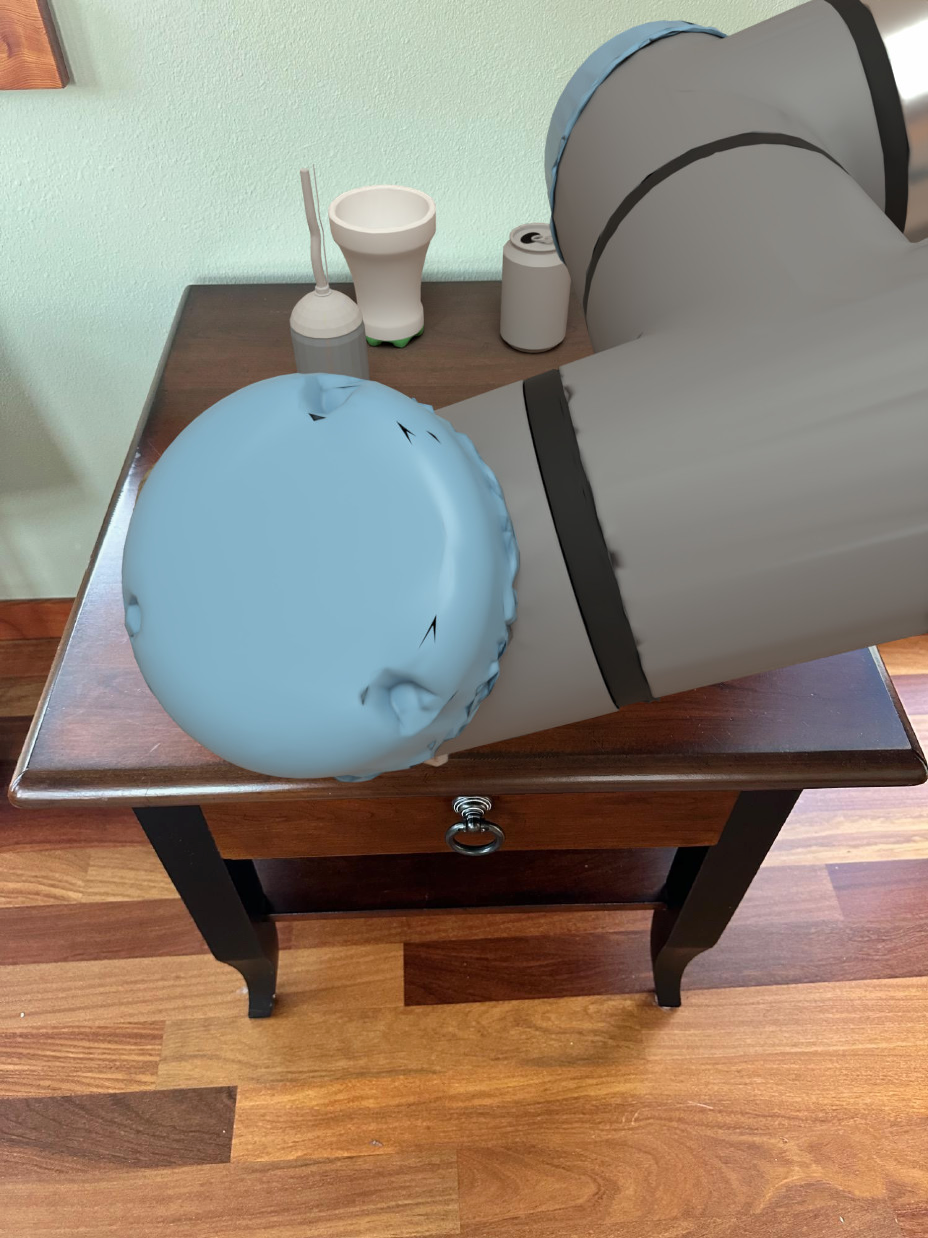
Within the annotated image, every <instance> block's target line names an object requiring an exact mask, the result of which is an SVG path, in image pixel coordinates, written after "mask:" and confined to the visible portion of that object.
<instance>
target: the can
mask: <svg viewBox="0 0 928 1238" xmlns="http://www.w3.org/2000/svg"><path fill="white" fill-rule="evenodd" d="M549 224H550V223H548V222H527V223H524V224H520V225H518V226H516V227H514V228H513V229H512V230H511V231H510V232H509V237H508V238H509V239H507V241H506V242H505V243H504V245H503V247H502V265H501V266H502V267H501V295H500V296H501V297H500V320H499V321H500V324H499V334H500V336H501V338H502V339H503V340H504V341H505V342H506V343H508V345H510V347H512V348H513V349H515V350H517V351H519V352H524V353H533V354H534V353H536V354H537V353H544V352H547V351H549V350H551V349H553V348H554V347H556V346H557V345H558V344H560V343H561V342H563V340H564V339H565V337H566V335H567V334H566V333H567V325H568V324H567V322H568V314H569V303H570V295H571V285H572V281H571V278H570V275H569V272H568V269H567V267H566V266H565V265H564V263H563V262H562V261H561V260H560V258H559V256H558V254H557V251H556V249H555V246H554V243H553V239H552V235H551V231H550V227H549Z"/></svg>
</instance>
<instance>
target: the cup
mask: <svg viewBox="0 0 928 1238" xmlns="http://www.w3.org/2000/svg"><path fill="white" fill-rule="evenodd" d="M327 214H328V215H327V216H328V221H329V228H330V235H331V237H332V240H333V242H335V244H336V245H337V246H338V247H339V250H340V251H341V253H342V255H343V258H344V259H345V262H346V265H347V267H348V270H349V273H350V275H351V278H352V283H353V285H354V286H353V287H354V292H355V298H356V304H357V305H358V307H359V309H360V310H361V312H362V315H363V321H364V324H365V333H366V342H367V344H368V345H370V346H372V347H377V346H379V345H381V344H382V343H384V342H385V343H391V344H392V345H393V346H395V347H397V348H404V347H405V346H407V345H408V343H409V342H410V340H411V339H412V338H413V337H419V336H421V335H423V332H424V328H425V321H424V320H425V319H424V318H425V317H424V306H423V303H422V301H421V298H422V297H421V293H422V292H421V289H422V288H421V287H422V277H423V271H424V267H425V261H426V258H427V254H428V250H429V248H430V244H431V241H432V240H433V238H434V236H435V235H436V232H437V204H436V202H435V200H434V198H432V197H431V196H430V195H428V194H427V193H426V192H424V191H422V190H419V189H417V188H413V187H409V186H404V185H399V184H373V185H364V186H361V187H357V188H353V189H350V190H347V191H345V192H342V193H341V194H340V195H338V196H336V197H335V198H334V199H333V200H332V202H330V204H329V205H328V210H327Z"/></svg>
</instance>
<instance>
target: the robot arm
mask: <svg viewBox="0 0 928 1238" xmlns="http://www.w3.org/2000/svg"><path fill="white" fill-rule="evenodd" d="M545 138H546V139H545V145H544V161H543V163H544V164H543V165H544V177H545V178H544V179H545V180H544V181H545V185H546V191H547V193H546V194H547V200H548V204H549V209H550V219H549V223H548V224H549V227H550V231H551V235H552V239H553V243H554V246H555V249H556V251H557V254H558V256H559V258H560V260H561V261H562V262H563V263H564V265H565V266H566V267H567V269H568V272H569V275H570V278H571V285H572V287H573V290H574V292H575V295H576V298H577V301H578V304H579V307H580V309H581V313H582V316H583V319H584V321H585V326H586V330H587V333H588V337H589V341H590V345H591V348H592V353H593V354H591V355H588V356H585V357H583V358H579V359H577V360H574V361H572V362H571V361H570V362H568V363H566V364H563V365H560V366H558V368H552V369H549V370H547V371H544V372H541V373H538V374H535V375H534V376H531V377H527V378H525V379H520V380H517V381H515V382H512V383H509V384H506V385H502V386H500V387H497V388H495V389H492V390H488V391H486V392H483V393H480V394H478V395H475V396H472V397H469V398H466V399H463V400H461V401H459V402H455V403H453V404H450V405H446V406H444V407H441V408H438V409H434V407H433V405H431V404H427V403H426V404H425V403H421V402H418V401H417V399H416V398H415V397H409V396H408V395H406V394H404V393H402V392H400V391H399V390H397V389H395V388H392V387H390V386H388V385H385V384H383V383H381V382H379V381H375V380H370V381H369V380H364V379H359V378H354V377H350V376H345V375H337V374H328V373H309V374H301V373H298V372H294V373H288V374H280V375H277V376H273V377H270V378H265V379H262V380H259V381H256V382H254V383H251V384H248V385H246V386H244V387H242V388H240V389H237V390H235V391H234V392H232V393H231V394H229V395H227V396H225V397H223V398H221V399H220V400H218V401H217V402H215V403H214V404H213V405H211V406H210V407H208V408H206V409H205V410H204V411H203V412H202V413H200V414H199V415H198V416H197V417H195V418H194V419H193V420H192V421H191V422H190V423H189V424H188V425H187V426H186V427H185V428H184V429H183V430H182V431H181V432H180V433H179V434H178V435H177V436H176V438H174V440H173V441H172V442H171V443H170V444H169V445H168V447H167V448H166V449H165V450H164V452H163V453H162V455H161V456H160V457H159V459H158V460H157V461H156V462H157V463H156V462H155V463H156V465H155V466H154V468H153V469H152V471H151V473H150V474H149V476H148V478H147V480H146V482H145V484H144V486H143V488H142V490H141V492H140V494H139V497H138V500H137V502H136V505H135V504H134V506H135V508H134V507H133V508H134V510H133V509H132V513H131V515H130V518H129V524H128V527H127V531H126V536H125V540H124V545H123V551H122V560H121V562H122V563H121V594H122V602H123V610H124V627H125V630H126V633H127V635H128V639H129V642H130V645H131V649H132V653H133V657H134V660H135V662H136V665H137V667H138V669H139V671H140V673H141V675H142V678H143V680H144V682H145V683H146V685H147V687H148V689H149V691H150V693H151V694H152V695H153V696H154V697H155V699H156V700H157V702H158V703H159V704H160V706H161V708H162V709H163V711H165V713H166V714H167V716H169V718H170V720H172V721H173V722H174V723H175V724H176V725H177V726H178V727H179V729H180V730H182V731H183V733H185V734H186V735H187V736H189V737H190V738H191V739H192V740H194V741H195V742H196V743H198V744H199V745H201V746H202V747H203V748H205V750H208V751H209V752H210V753H212V754H214V755H216V756H218V757H219V758H221V759H222V760H224V761H226V762H228V763H230V764H232V765H235V766H237V767H239V768H242V769H245V770H248V771H251V772H255V773H258V774H262V775H265V776H266V775H267V776H272V777H277V778H285V779H297V780H301V779H323V778H324V779H325V778H333V779H334V780H336V781H337V782H339V783H362V782H366V781H371V780H373V779H375V778H377V777H378V776H381V775H382V774H385V773H390V772H395V771H402V770H409V769H412V768H414V767H416V766H418V765H420V764H425V765H429V766H434V767H440V766H443V765H444V764H446V763H448V762H449V761H450V756H451V754H453V753H458V752H462V751H465V750H470V749H473V748H478V747H481V746H486V745H489V744H493V743H499V742H504V741H507V740H513V739H517V738H522V737H524V736H529V735H530V734H533V733H537V732H541V731H546V730H550V729H554V728H558V727H561V726H565V725H569V724H573V723H579V722H581V721H585V720H589V719H594V718H597V717H600V716H601V717H602V716H604V715H605V716H606V715H608V714H612V713H615V712H619V711H620V709H621V707H625V706H629V705H633V704H636V703H646V704H652V702H654V701H655V702H661V697H666V696H670V695H674V694H677V693H683V692H687V691H691V690H695V689H700V688H703V687H708V686H712V685H716V684H720V683H725V682H729V681H732V680H737V679H740V678H746V677H750V676H753V675H758V674H762V673H765V672H770V671H774V670H778V669H783V668H787V667H790V666H795V665H800V664H803V663H808V662H812V661H816V660H820V659H825V658H828V657H833V656H837V655H841V654H845V653H850V652H854V651H857V650H862V649H867V648H871V647H874V646H879V645H883V644H888V643H892V642H896V641H900V640H904V639H909V638H912V637H913V638H914V637H916V636H921V635H926V634H928V0H808V1H806V2H803V3H802V4H799V5H796V6H794V7H791V8H789V9H787V10H785V11H783V12H781V13H777V14H775V15H773V16H771V17H769V18H766V19H765V20H762V21H760V22H757V23H755V24H753V25H750V26H748V27H746V28H744V29H741V30H739V31H736V32H735V33H732V34H730V35H728V34H726V33H723V32H722V31H721V30H719V29H718V28H716V27H715V26H710V25H709V26H703V25H701V24H698V23H694V22H690V21H687V20H682V19H681V20H680V19H679V20H677V19H676V20H665V19H662V20H655V21H649V22H645V23H642V24H641V23H640V24H639V25H636V26H633V27H631V28H628V29H626V30H624V31H622V32H620V33H619V34H616V35H615V36H613V37H612V38H610V39H609V40H607V41H606V42H604V43H602V44H601V45H599V47H598V48H596V50H594V51H593V52H592V53H591V54H590V55H589V56H588V57H587V58H585V60H584V61H583V62H582V63H581V64H580V65H579V67H578V68H577V69H576V70H575V72H574V74H573V75H572V76H571V77H570V79H569V80H568V82H567V84H566V85H565V87H564V89H563V91H562V92H561V94H560V96H559V98H558V100H557V102H556V104H555V107H554V109H553V112H552V113H551V118H550V122H549V125H548V130H547V134H546V137H545Z"/></svg>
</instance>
